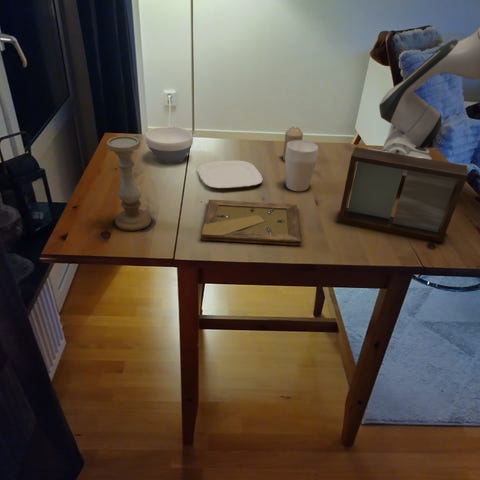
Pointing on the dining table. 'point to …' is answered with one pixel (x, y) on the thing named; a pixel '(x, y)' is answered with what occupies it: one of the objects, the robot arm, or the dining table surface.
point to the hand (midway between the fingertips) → (391, 174)
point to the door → (375, 189)
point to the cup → (300, 164)
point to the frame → (411, 195)
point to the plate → (229, 174)
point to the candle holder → (128, 185)
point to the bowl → (169, 143)
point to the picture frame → (251, 222)
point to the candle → (292, 137)
